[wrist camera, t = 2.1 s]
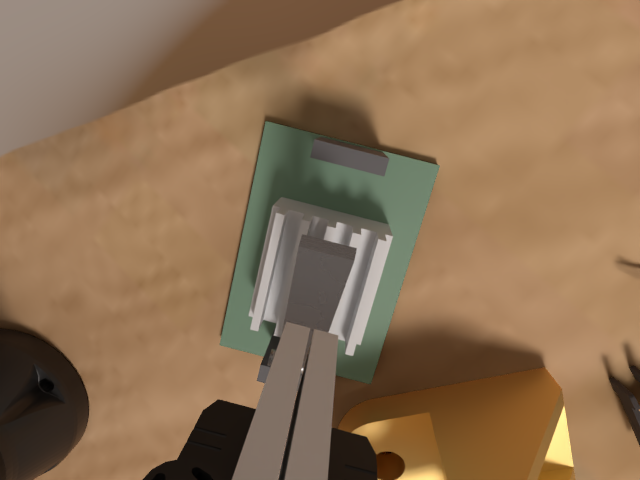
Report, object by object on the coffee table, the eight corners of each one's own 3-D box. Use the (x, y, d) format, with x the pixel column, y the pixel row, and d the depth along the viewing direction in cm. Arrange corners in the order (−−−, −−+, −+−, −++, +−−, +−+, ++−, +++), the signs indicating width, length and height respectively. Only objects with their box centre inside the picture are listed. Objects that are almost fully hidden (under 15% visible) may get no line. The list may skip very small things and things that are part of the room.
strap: (322, 366, 33) (319, 381, 33) (271, 353, 33) (266, 367, 33) (369, 248, 22) (365, 267, 21) (291, 228, 22) (285, 246, 21)
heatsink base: (370, 378, 41) (373, 433, 34) (222, 339, 41) (194, 386, 34) (437, 164, 36) (458, 174, 28) (268, 121, 36) (246, 120, 28)
